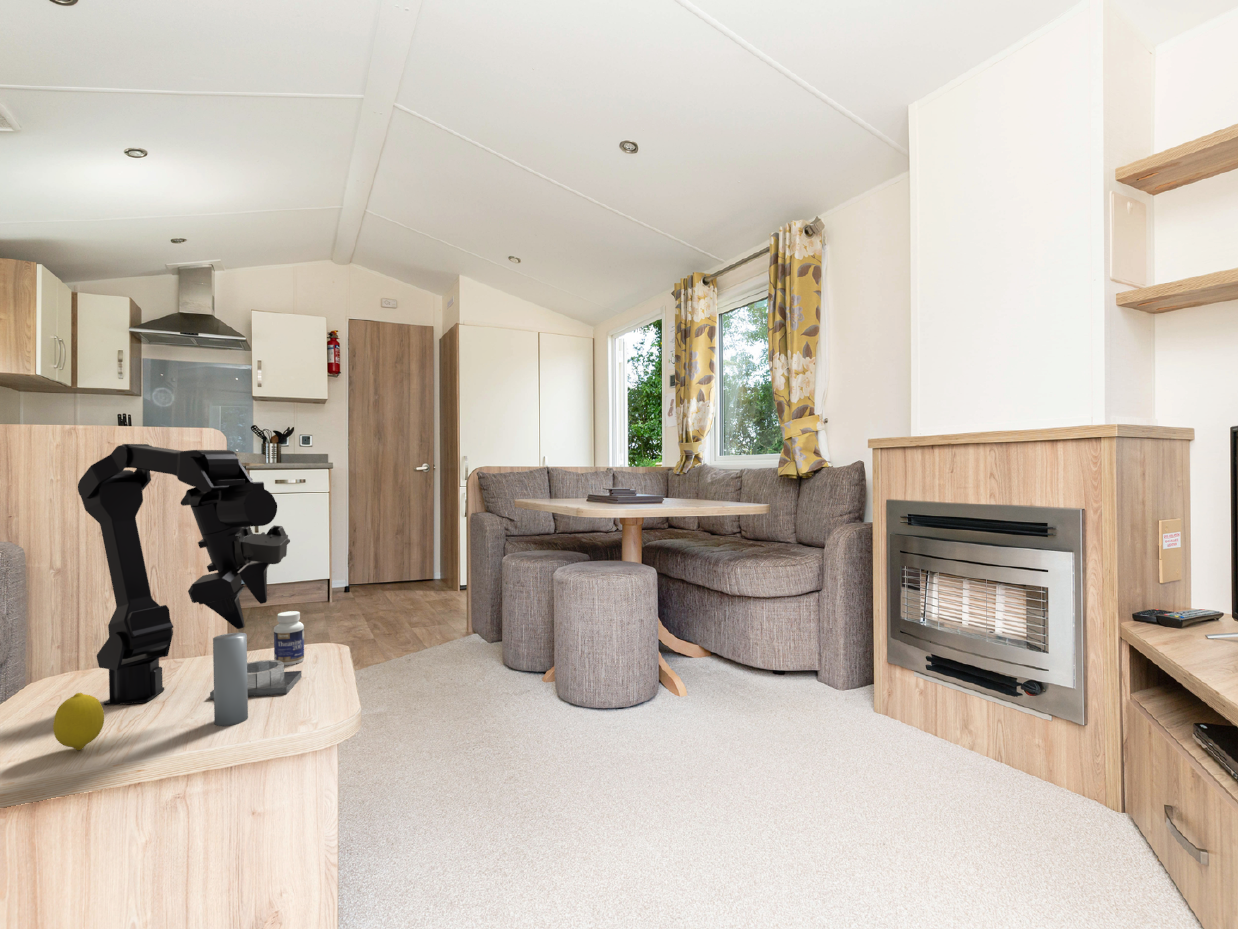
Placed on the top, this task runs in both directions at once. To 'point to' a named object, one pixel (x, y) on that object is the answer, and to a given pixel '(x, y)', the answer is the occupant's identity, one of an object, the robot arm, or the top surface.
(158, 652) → the robot arm
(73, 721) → the lemon
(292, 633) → the pill bottle
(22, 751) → the top surface
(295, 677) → the duct plate
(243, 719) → the grey rounded cylinder
